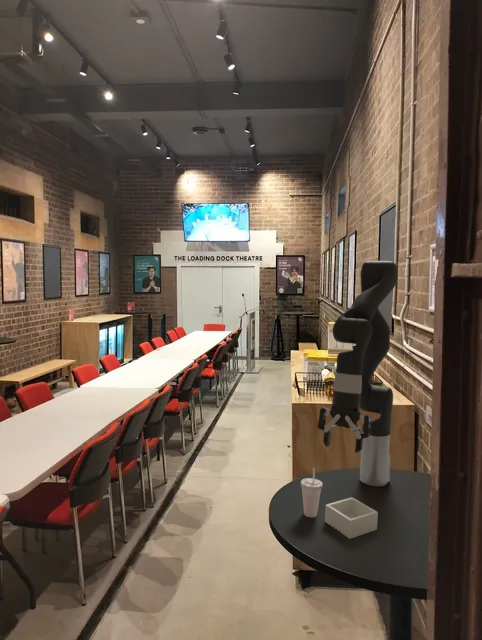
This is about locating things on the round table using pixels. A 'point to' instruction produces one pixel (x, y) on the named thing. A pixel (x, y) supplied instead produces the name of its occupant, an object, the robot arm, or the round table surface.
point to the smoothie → (311, 495)
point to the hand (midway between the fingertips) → (342, 449)
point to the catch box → (351, 517)
